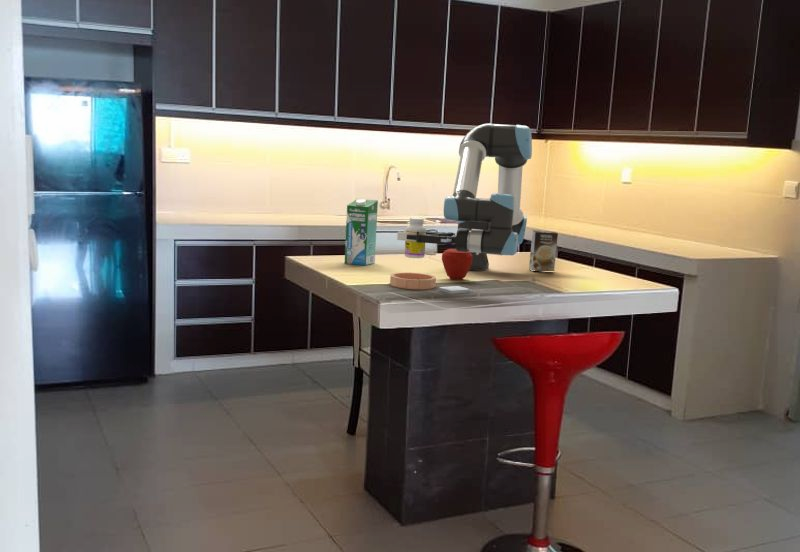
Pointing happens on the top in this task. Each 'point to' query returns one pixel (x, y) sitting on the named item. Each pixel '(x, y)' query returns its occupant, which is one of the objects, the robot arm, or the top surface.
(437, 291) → the mat
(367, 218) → the milk carton
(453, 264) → the apple
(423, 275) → the bowl
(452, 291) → the light grey flat block
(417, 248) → the supplement bottle
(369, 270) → the top surface
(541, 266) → the coffee box
